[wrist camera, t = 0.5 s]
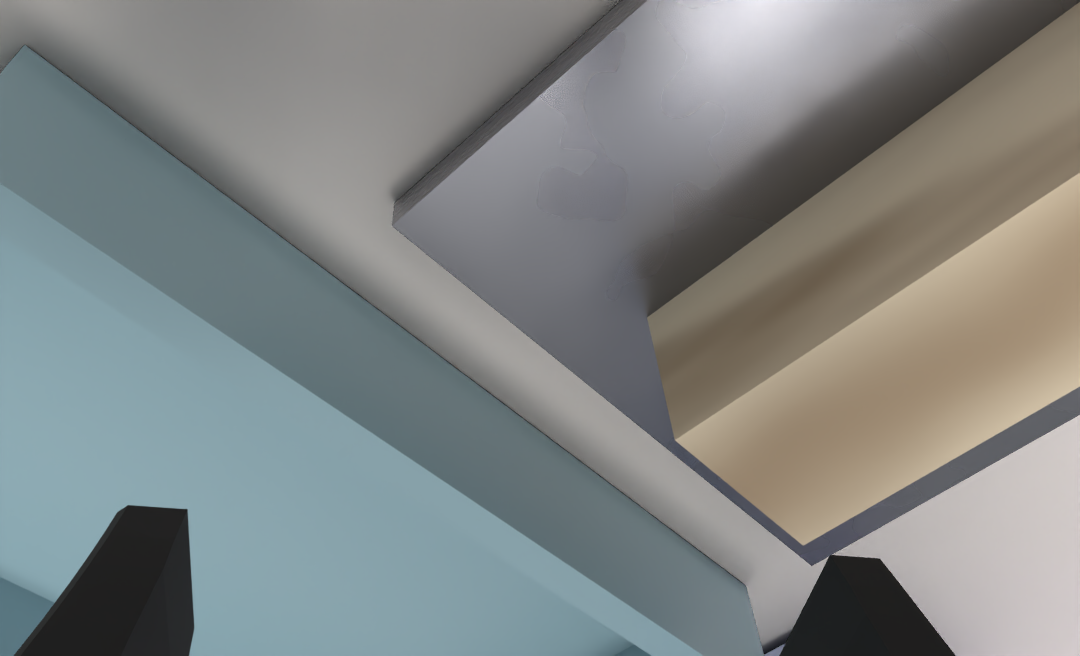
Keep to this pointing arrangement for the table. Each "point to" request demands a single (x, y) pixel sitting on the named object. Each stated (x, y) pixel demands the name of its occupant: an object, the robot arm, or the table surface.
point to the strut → (894, 304)
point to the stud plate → (697, 178)
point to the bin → (286, 434)
